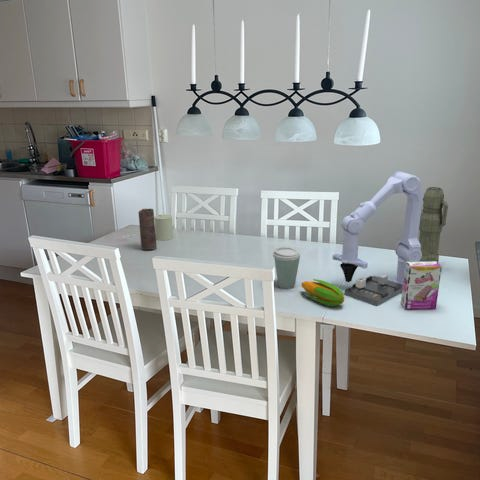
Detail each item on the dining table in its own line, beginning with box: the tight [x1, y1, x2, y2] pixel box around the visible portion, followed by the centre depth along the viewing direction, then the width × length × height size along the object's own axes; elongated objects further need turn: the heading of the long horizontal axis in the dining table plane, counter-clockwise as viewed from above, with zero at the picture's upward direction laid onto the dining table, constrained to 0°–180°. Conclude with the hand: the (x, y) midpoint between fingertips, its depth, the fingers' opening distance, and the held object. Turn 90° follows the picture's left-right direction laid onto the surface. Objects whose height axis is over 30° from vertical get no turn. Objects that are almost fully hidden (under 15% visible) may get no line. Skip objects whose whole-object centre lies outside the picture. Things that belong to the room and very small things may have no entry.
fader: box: [378, 273, 389, 285], centre depth 185 cm, size 3×2×3 cm
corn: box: [301, 278, 346, 307], centre depth 176 cm, size 7×8×20 cm
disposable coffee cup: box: [272, 246, 301, 290], centre depth 188 cm, size 11×11×15 cm
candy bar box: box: [400, 261, 443, 311], centre depth 168 cm, size 11×5×16 cm, turn 92°
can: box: [154, 213, 174, 241], centre depth 252 cm, size 9×9×12 cm
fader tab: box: [355, 277, 366, 288], centre depth 182 cm, size 3×2×3 cm
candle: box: [138, 208, 157, 250], centre depth 234 cm, size 8×7×20 cm
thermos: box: [418, 186, 449, 263], centre depth 200 cm, size 9×12×35 cm
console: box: [343, 275, 403, 307], centre depth 183 cm, size 20×14×3 cm
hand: (348, 281), depth 186 cm, fingers closed
